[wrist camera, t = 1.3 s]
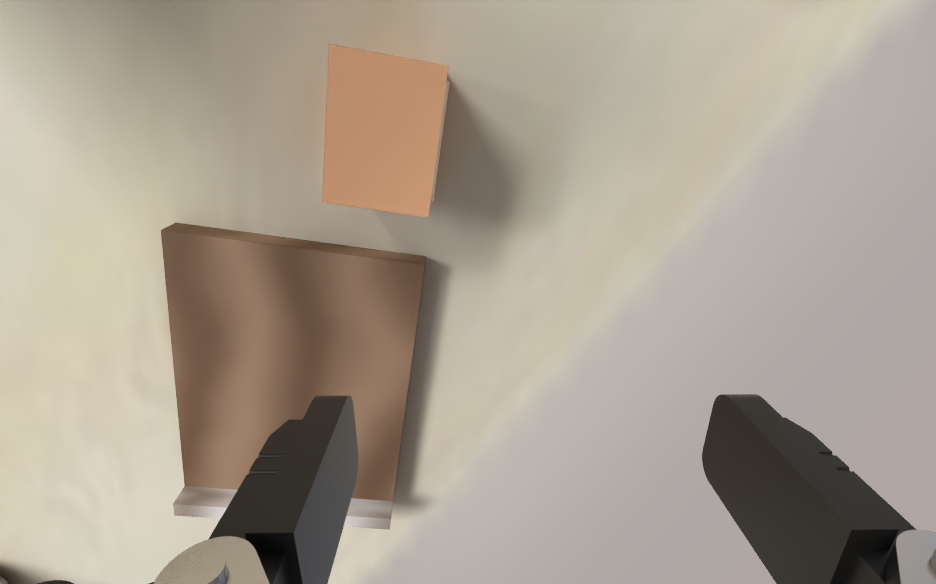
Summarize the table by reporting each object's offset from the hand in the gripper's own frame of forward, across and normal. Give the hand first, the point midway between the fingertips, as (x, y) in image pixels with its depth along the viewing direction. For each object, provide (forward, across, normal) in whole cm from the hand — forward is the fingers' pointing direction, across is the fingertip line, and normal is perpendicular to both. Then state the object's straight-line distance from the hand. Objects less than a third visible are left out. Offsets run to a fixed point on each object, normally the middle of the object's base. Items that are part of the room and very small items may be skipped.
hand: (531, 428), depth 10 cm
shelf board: (+18, +12, +10) cm, 24 cm away
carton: (+18, +5, -6) cm, 19 cm away
